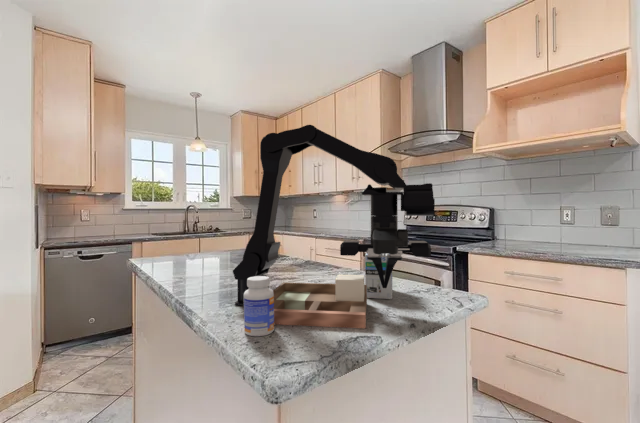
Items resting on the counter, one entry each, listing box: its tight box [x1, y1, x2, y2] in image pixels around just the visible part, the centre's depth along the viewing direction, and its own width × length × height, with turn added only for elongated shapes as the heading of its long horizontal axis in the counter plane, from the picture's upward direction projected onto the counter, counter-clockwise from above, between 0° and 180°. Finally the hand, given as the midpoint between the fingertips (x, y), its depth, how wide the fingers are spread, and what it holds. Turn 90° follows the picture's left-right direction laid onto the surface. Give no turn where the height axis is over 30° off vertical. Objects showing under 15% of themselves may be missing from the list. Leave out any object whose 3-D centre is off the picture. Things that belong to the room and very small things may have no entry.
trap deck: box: [272, 282, 368, 329], centre depth 71 cm, size 20×16×4 cm
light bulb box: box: [364, 252, 393, 300], centre depth 86 cm, size 11×7×11 cm, turn 168°
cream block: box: [334, 274, 365, 302], centre depth 73 cm, size 6×6×4 cm
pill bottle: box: [243, 276, 275, 337], centre depth 60 cm, size 5×5×10 cm
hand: (384, 287), depth 72 cm, fingers closed
